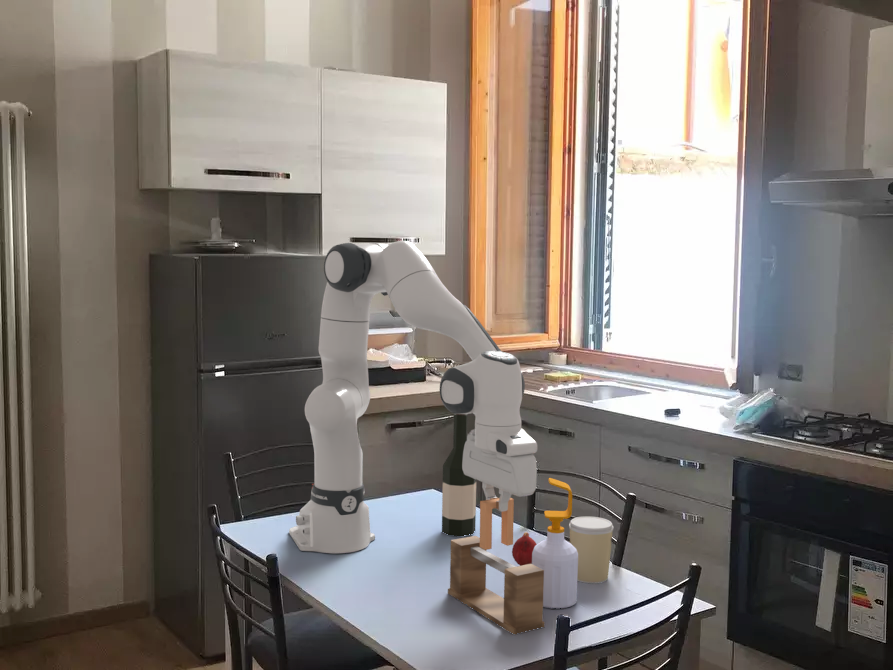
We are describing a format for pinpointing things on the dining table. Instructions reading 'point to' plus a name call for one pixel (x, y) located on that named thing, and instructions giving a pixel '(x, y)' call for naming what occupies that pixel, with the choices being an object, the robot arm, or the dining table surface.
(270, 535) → the dining table surface
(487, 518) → the wooden arch
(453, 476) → the wine bottle
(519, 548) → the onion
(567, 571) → the soap bottle
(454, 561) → the wooden rail stand
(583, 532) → the coffee cup
